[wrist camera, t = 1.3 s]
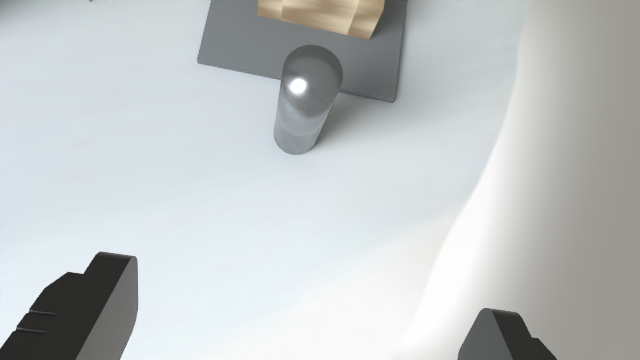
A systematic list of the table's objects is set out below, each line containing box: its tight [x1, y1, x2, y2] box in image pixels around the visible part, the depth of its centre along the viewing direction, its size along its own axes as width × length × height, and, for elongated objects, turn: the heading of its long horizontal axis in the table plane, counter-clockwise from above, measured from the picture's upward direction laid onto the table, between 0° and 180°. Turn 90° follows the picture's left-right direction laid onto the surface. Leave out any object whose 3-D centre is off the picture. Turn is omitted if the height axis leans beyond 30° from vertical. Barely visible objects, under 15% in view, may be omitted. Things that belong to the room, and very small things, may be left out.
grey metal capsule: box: [274, 45, 343, 155], centre depth 28 cm, size 3×3×10 cm
